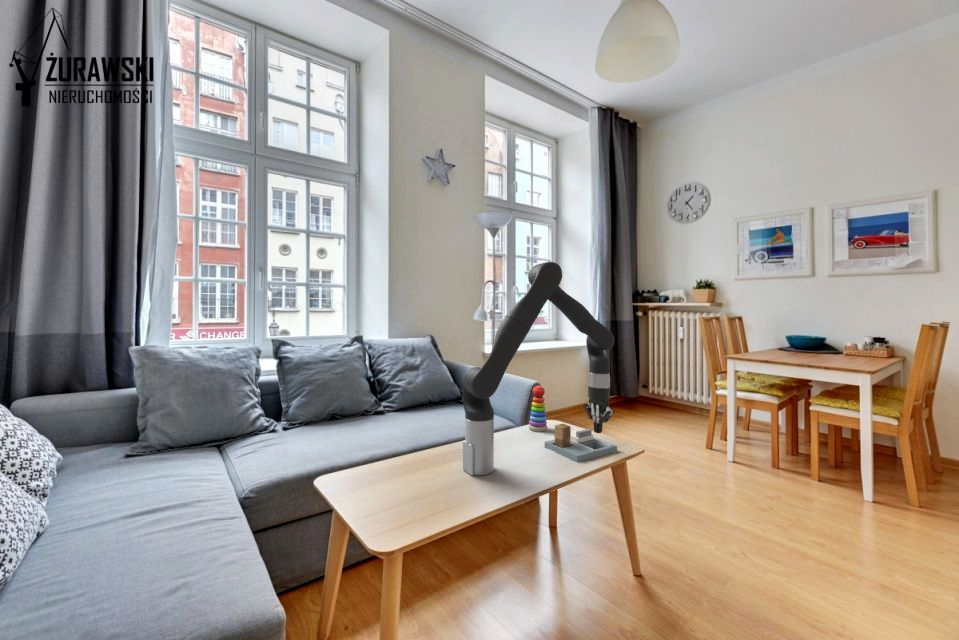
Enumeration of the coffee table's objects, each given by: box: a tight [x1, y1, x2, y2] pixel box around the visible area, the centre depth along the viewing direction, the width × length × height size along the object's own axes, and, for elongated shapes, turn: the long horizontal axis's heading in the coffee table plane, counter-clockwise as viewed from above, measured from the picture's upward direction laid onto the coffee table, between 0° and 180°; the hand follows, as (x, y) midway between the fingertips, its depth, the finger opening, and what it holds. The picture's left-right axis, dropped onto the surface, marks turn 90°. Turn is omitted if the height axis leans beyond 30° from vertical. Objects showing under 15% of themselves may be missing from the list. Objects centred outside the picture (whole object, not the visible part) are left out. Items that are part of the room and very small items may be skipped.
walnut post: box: [554, 423, 572, 448], centre depth 152 cm, size 4×4×9 cm
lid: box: [570, 428, 594, 443], centre depth 158 cm, size 8×8×4 cm
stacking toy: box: [528, 385, 548, 432], centre depth 176 cm, size 8×8×19 cm
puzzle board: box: [544, 436, 618, 463], centre depth 153 cm, size 20×17×3 cm
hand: (597, 432), depth 149 cm, fingers closed
